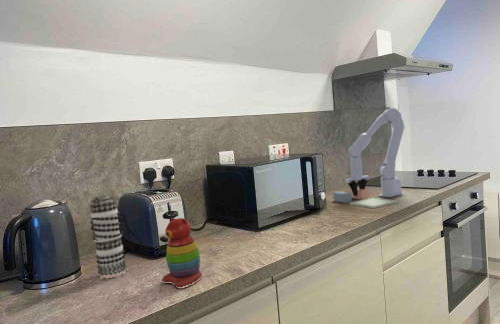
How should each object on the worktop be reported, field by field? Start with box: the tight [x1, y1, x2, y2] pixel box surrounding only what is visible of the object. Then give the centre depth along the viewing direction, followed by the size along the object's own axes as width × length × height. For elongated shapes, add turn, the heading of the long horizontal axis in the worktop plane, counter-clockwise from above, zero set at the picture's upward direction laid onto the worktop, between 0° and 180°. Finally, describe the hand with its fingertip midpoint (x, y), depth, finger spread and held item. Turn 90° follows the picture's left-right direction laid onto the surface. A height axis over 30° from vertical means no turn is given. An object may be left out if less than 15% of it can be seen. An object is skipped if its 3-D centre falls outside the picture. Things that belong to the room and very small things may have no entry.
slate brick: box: [332, 191, 353, 204], centre depth 191 cm, size 4×9×4 cm, turn 26°
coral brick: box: [349, 187, 369, 200], centre depth 194 cm, size 4×9×4 cm, turn 26°
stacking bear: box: [161, 217, 203, 287], centre depth 106 cm, size 11×10×18 cm
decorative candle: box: [88, 194, 128, 275], centre depth 118 cm, size 9×9×25 cm
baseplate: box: [348, 196, 399, 209], centre depth 177 cm, size 15×16×1 cm
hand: (358, 194), depth 194 cm, fingers closed on coral brick, 4 cm apart
